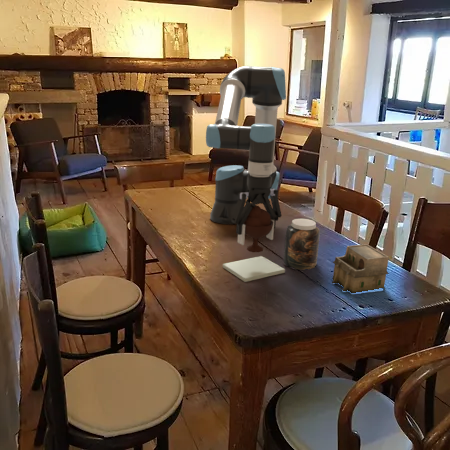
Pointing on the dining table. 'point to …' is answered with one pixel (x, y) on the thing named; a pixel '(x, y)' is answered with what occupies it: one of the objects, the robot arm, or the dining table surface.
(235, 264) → the board
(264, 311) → the dining table surface
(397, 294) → the dining table surface
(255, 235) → the ice cream bowl
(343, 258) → the miniature house
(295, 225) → the jar
